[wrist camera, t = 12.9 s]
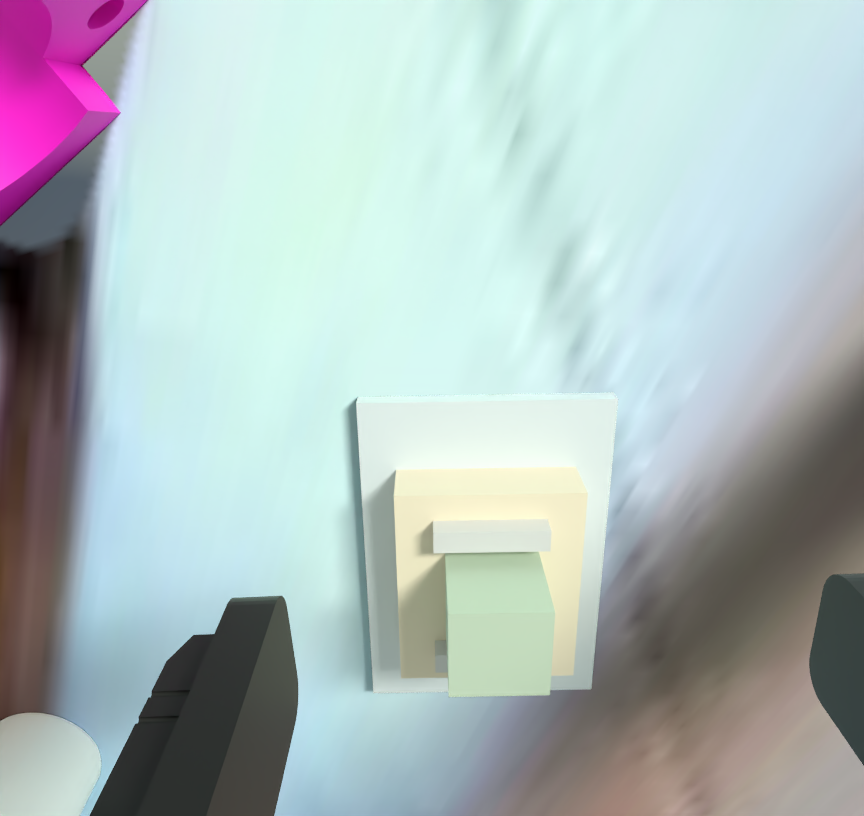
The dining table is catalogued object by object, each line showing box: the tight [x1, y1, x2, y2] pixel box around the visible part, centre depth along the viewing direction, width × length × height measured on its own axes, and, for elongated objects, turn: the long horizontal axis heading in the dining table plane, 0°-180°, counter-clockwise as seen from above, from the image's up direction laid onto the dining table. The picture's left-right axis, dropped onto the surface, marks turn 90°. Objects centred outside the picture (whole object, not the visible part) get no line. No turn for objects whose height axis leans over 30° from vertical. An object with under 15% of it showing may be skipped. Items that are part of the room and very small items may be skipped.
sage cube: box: [445, 552, 555, 697], centre depth 35 cm, size 5×5×5 cm
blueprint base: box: [356, 392, 618, 693], centre depth 39 cm, size 14×20×5 cm
